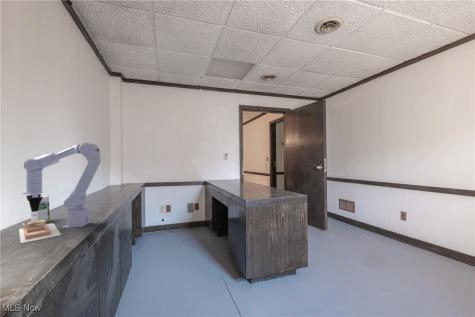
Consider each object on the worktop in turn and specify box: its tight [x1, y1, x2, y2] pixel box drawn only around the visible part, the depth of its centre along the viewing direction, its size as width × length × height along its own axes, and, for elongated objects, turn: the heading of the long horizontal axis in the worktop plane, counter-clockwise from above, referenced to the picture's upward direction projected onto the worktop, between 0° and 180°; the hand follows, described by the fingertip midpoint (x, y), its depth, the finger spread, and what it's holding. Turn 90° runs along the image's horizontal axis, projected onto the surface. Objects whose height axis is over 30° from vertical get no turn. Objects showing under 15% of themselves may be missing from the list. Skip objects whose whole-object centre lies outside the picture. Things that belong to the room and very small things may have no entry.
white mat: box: [18, 222, 62, 245], centre depth 101 cm, size 13×26×1 cm, turn 47°
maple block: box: [22, 220, 47, 231], centre depth 106 cm, size 8×4×3 cm, turn 137°
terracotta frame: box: [24, 226, 50, 240], centre depth 98 cm, size 12×8×2 cm, turn 47°
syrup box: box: [30, 195, 51, 223], centre depth 117 cm, size 6×6×14 cm
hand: (34, 210), depth 106 cm, fingers open, 7 cm apart
